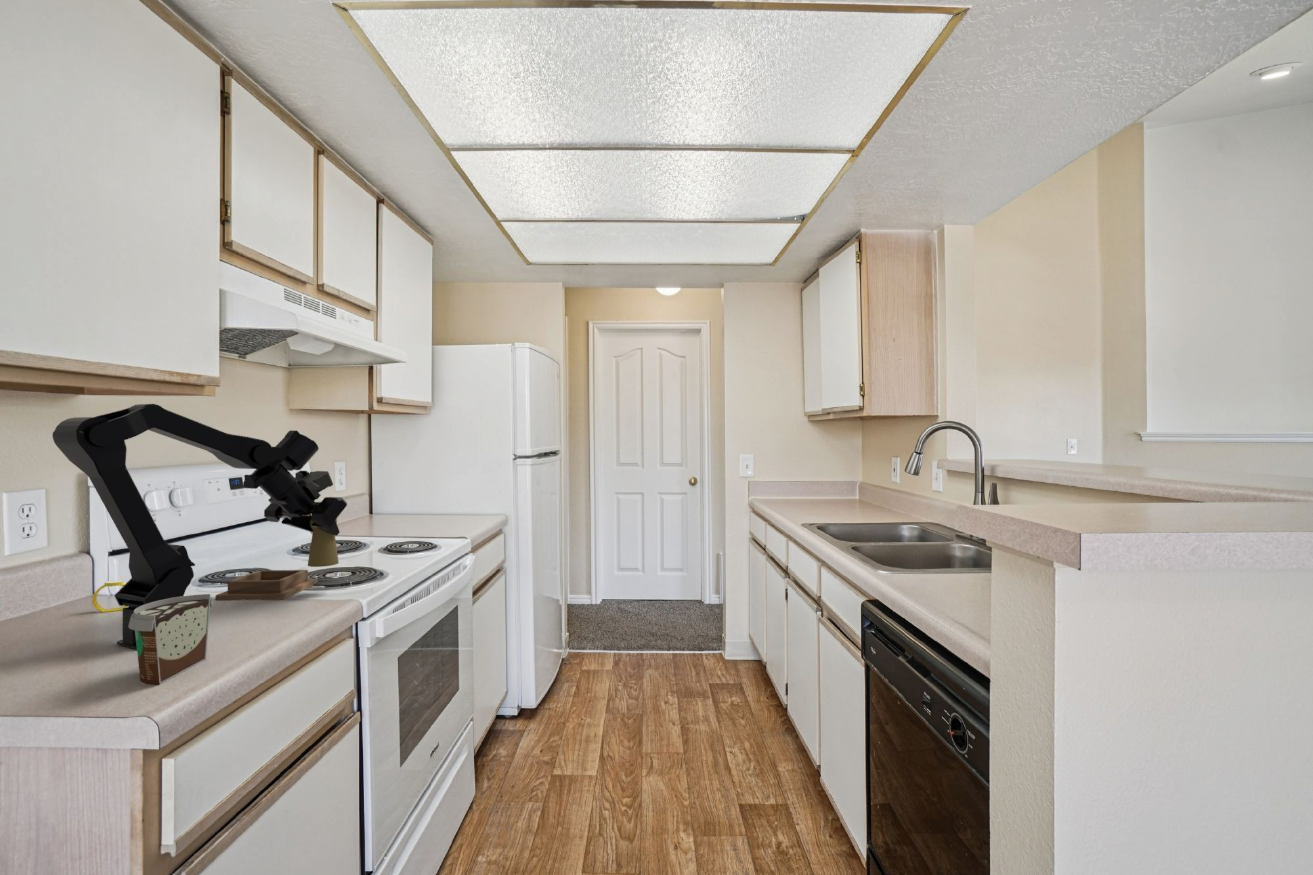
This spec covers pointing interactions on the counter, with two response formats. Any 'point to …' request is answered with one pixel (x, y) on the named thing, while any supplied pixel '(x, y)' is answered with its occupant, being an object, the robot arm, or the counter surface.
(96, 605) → the watch
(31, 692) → the counter surface
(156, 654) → the food container
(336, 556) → the cork
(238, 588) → the stand
